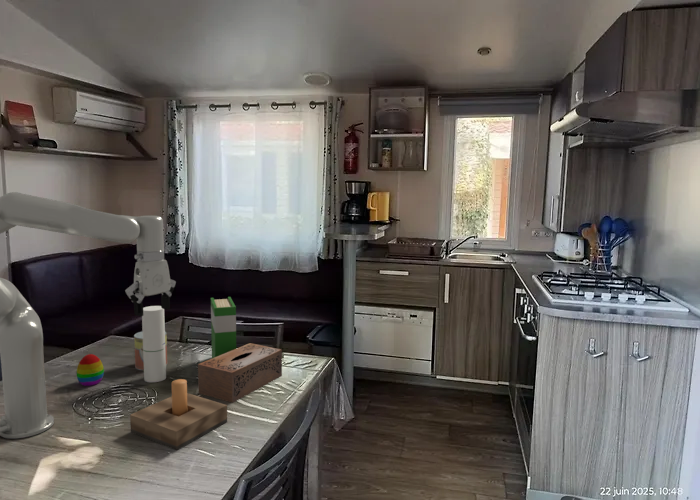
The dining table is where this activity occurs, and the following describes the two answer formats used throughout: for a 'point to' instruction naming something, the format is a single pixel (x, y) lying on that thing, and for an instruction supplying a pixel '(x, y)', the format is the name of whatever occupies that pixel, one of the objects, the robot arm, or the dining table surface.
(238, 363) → the tissue box cover
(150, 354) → the cylindrical container
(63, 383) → the dining table surface
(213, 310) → the hardback book
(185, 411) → the pin
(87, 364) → the decorative egg
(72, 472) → the dining table surface
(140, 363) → the canned food
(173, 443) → the block
